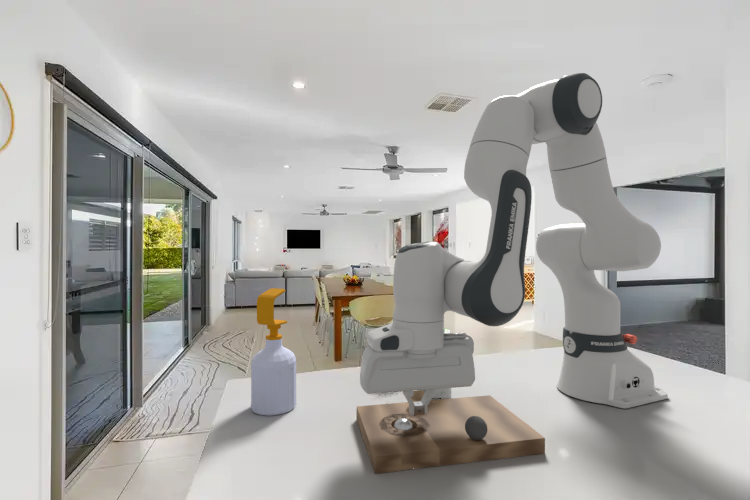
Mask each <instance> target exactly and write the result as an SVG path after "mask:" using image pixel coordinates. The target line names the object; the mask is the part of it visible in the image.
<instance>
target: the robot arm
mask: <svg viewBox="0 0 750 500" xmlns="http://www.w3.org/2000/svg"><path fill="white" fill-rule="evenodd" d="M602 107H603V93H602V89H601V87H600V85H599V83H598V82H597V81H596V79H595V78H593V77H592V76H591V75H590V74H588V73H586V72H578V73H577V72H576V73H571V74H565V75H562V77H559V78H557V79H552V80H548V81H546V82H542V83H540V84H536V85H534V86H532V87H530V88H529V89H527V90H524V91H523V92H521V93H518V94H517V95H503V96H499V97H497V98H494V99H493V100H491V101H490V102H489V103H488V104H487V105H486V107H485V109H484V110H483V113H482V115H481V116H480V119H479V121H478V123H477V126H476V128H475V130H474V131H473V132H474V133H473V135H472V138H471V142H470V144H469V148H468V152H467V154H466V159H465V161H464V162H465V164H464V171H463V172H464V173H463V177H464V181H465V183H466V186H467V188H469V190H470V191H471V192H472V193H473V194H474V195H475V196H477V197H478V198H481V199H482V200H485V201H487V202H488V203H489V205H490V209H491V216H490V217H491V218H490V225H489V230H488V237H487V243H486V247H485V248H486V249H485V253H484V256H483V257H482V258H481V259H480V260H479V261H473V260H465V259H464V258H461V257H458V256H456V255H455V254H452V253H451V252H449V251H447V250H446V249H445V248H444V247H442V246H441V244H440V242H437V241H423V242H415V243H410V244H406V245H404V246H402V247H401V248H400V249H399V250H398V251H397V253H396V256H395V260H394V267H393V280H392V281H393V282H392V285H393V286H392V288H393V289H392V294H393V297H394V301H395V302H394V304H395V306H394V310H393V315H392V322H390V323H388V324H384V326H380V327H376V328H374V329H372V330H369V331H368V332H367V335H366V338H367V340H366V341H367V343H368V345H367V346H366V348H365V349H364V351H363V353H362V357H361V363H360V372H359V384H360V386H361V388H362V390H363V391H364V392H365V393H366V394H367V395H373V394H386V393H387V394H388V393H398V392H399V393H401V392H402V394H403V396H404V398H405V399H406V401H407V402H408V403H409V413H410V415H411V416H413V415H424V414H427V413H428V404H429V403H430V401H431V400H433V398H432V397H433V396H434V389H442V388H451V389H452V388H453V389H454V388H466V387H472V385H473V384H474V382H475V381H476V372H475V371H476V370H475V369H476V368H475V363H474V355H473V354H474V350H475V349H474V348H475V343H474V339H473V338H472V337H471V336H470V335H468V334H467V333H466V332H458V333H451V332H450V333H444V328H445V320H444V319H445V313H446V312H448V311H449V312H453V313H456V314H458V315H462V316H464V317H468V318H471V319H472V320H474V321H477V322H478V323H481V324H483V325H485V326H488V327H499V326H503V325H506V324H507V323H509V322H510V321H512V320H513V319H514V318H515V317H516V316H517V314H518V313H519V312H520V310H522V309H521V308H522V307H523V305H524V302H525V297H526V283H525V282H526V281H525V260H526V259H525V258H526V250H527V241H528V236H529V235H528V234H529V228H530V219H531V218H530V217H531V212H532V211H531V209H532V201H533V200H532V199H533V198H532V196H533V195H532V192H533V191H532V186H531V185H532V183H530V180H529V177H527V167H528V162H529V159H530V154H531V149H532V145H537V144H541V143H545V145H546V151H547V153H546V154H547V162H548V168H549V171H550V172H549V173H550V179H551V182H552V188H553V193H554V198H555V201H556V202H557V204H558V205H559V206H560V207H561V208H562V209H565V210H568V211H570V212H571V213H573V214H575V215H577V216H578V217H579V218H580V219H581V220H582V222H573V223H561V224H557V225H556V224H555V225H552V226H549V227H546V228H544V229H542V231H540V233H539V234H538V237H537V239H536V242H535V251H536V254H537V257H538V259H539V260H540V261H541V262H542V264H544V265H545V266H546V267H548V269H549V270H551V272H552V273H553V275H554V276H555V278H556V279H557V281H558V283H559V285H560V288H561V292H562V294H563V295H562V296H563V301H564V302H563V303H564V327H563V328H562V346H563V358H562V362H561V363H562V365H561V369H560V376H559V378H558V381H557V385H556V388H557V389H558V390H559V391H560V392H562V393H564V394H565V395H567V396H569V397H573V398H575V399H578V400H581V401H584V402H592V403H596V404H603V405H608V406H612V407H615V408H620V409H630V408H634V407H639V406H642V405H646V404H650V403H654V402H660V401H663V400H667V399H668V398H669V395H668V393H667V392H666V391H665V390H663V389H662V388H660V387H658V386H656V385H655V377H654V372H653V370H652V369H651V367H650V366H649V365H648V364H647V363H645V362H644V361H643V360H641V359H640V358H639V357H638V356H636V355H635V353H633V352H632V351H630V350H629V349H628V345H627V343H629V344H631V345H636V344H637V342H638V340H639V339H638V337H637V336H636V335H633V334H629V333H625V334H623V333H622V332H621V300H620V299H619V297H618V295H617V294H616V293H615V292H613V290H611V289H609V288H608V287H606V286H604V285H602V284H601V283H600V281H598V279H597V277H596V274H595V271H604V272H605V271H608V272H630V271H638V270H644V269H648V268H650V267H651V266H652V265H653V264H655V262H656V261H657V260H658V258H659V256H660V253H661V250H662V244H661V243H662V242H661V238H660V236H659V234H658V232H657V230H656V229H655V228H654V227H653V226H652V225H650V224H649V223H647V222H646V221H644V220H641V219H639V218H638V217H637V216H635V215H633V214H632V213H631V212H630V211H629V210H628V209H627V208H626V207H625V206H624V205H623V203H622V202H621V201H620V200H619V197H618V196H617V194H616V192H615V189H614V186H613V183H612V179H611V175H610V170H609V165H608V159H607V158H608V157H607V155H606V149H605V144H604V143H605V142H604V140H603V137H602V134H601V131H600V128H599V125H598V123H597V121H598V119H599V116H600V114H601V112H602ZM416 390H423V391H424V395H423V397H422V399H421V401H418V402H413V401H412V399H411V397H413V393H414V391H416ZM410 396H411V397H410Z"/></svg>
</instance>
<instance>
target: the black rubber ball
mask: <svg viewBox="0 0 750 500" xmlns="http://www.w3.org/2000/svg"><path fill="white" fill-rule="evenodd" d="M465 430H466V433H467V434H468V436H469V437H470V438H472V439H474V440H480V439H483V438H484V437H485V436H486V434H487V424H486V422H485V421H484V420H483V419H482V418H481V417H478V416H472V417H470V418H468V419H467V421H466V423H465Z"/></svg>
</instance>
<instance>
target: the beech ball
mask: <svg viewBox="0 0 750 500" xmlns="http://www.w3.org/2000/svg"><path fill="white" fill-rule="evenodd" d="M423 395H424V391H423V390H416V391H414V393H413V397H411V396H410V397H411V399H412V401H413V402H418V401H421V399H422V397H423Z"/></svg>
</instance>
